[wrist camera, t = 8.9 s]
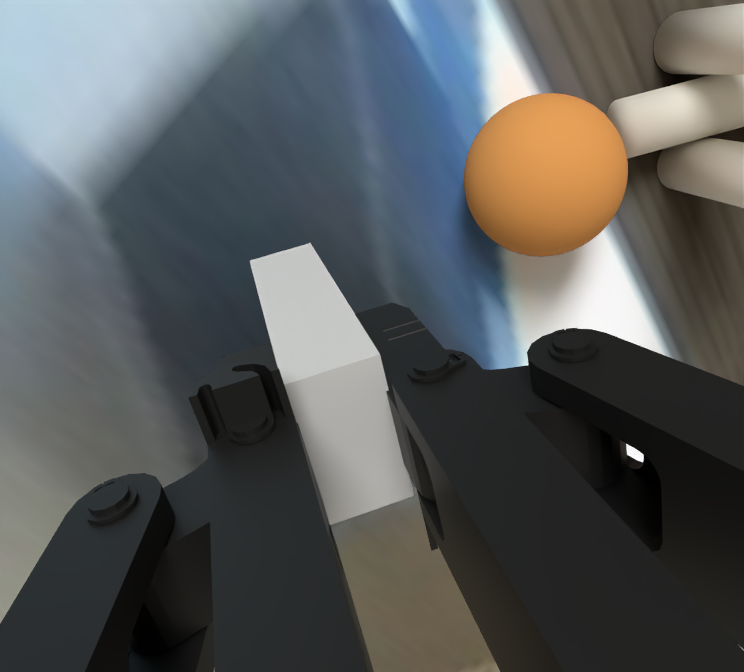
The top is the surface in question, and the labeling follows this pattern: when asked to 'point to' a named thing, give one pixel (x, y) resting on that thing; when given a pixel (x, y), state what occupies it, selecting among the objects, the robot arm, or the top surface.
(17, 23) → the top surface
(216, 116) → the top surface
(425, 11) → the top surface
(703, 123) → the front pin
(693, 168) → the pin
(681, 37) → the pin
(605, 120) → the orange ball
